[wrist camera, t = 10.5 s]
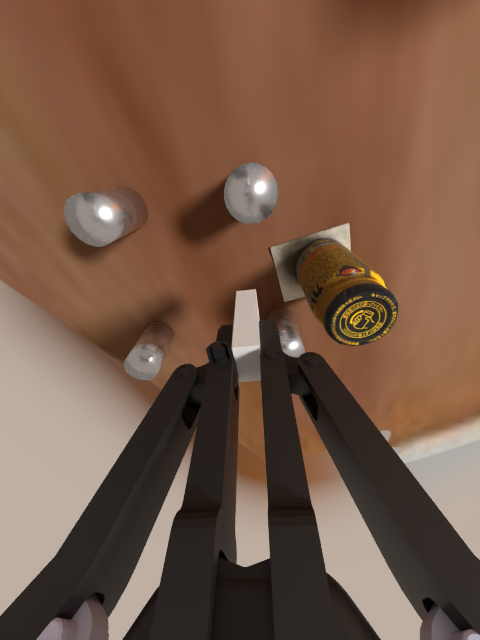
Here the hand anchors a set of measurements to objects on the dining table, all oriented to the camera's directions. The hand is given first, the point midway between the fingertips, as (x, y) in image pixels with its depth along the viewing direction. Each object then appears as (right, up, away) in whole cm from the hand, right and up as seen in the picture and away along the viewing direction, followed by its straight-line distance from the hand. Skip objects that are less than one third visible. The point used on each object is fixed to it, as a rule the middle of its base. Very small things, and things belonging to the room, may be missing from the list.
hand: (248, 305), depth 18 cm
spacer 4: (+5, -1, +13) cm, 14 cm away
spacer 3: (0, +12, +5) cm, 13 cm away
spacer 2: (-12, -3, +15) cm, 19 cm away
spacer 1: (-12, +11, +6) cm, 17 cm away
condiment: (+8, +5, +9) cm, 13 cm away
